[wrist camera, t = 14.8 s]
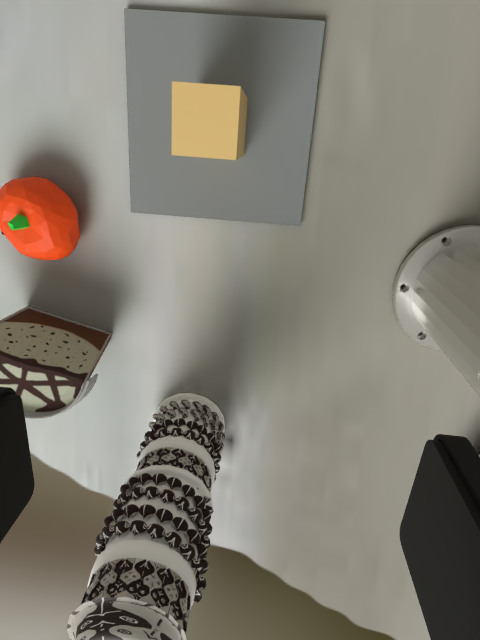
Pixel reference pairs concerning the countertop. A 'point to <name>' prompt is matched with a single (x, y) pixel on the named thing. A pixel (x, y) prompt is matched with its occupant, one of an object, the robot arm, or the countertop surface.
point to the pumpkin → (38, 218)
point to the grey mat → (261, 124)
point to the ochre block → (208, 120)
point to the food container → (48, 360)
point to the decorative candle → (157, 530)
